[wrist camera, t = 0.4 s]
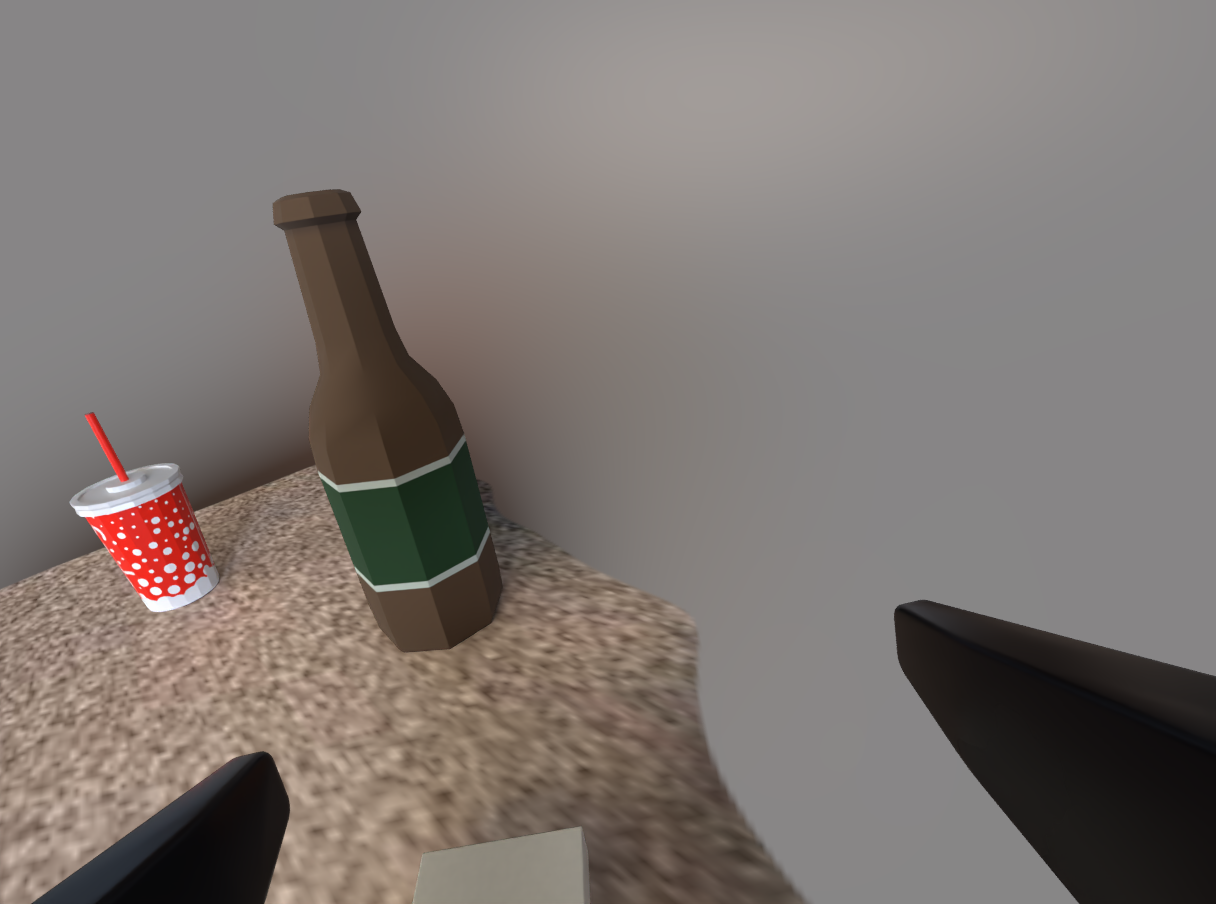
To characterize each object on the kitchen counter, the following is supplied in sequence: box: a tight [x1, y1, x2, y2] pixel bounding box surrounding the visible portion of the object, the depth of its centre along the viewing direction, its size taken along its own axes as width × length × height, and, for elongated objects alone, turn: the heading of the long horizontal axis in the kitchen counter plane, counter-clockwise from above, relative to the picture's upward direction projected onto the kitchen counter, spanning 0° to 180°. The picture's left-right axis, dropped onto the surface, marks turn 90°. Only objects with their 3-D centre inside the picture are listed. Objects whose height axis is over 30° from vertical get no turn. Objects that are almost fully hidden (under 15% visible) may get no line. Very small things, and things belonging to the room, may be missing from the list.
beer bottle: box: [273, 189, 503, 652], centre depth 32 cm, size 8×8×24 cm
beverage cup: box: [69, 412, 219, 612], centre depth 40 cm, size 6×6×14 cm
